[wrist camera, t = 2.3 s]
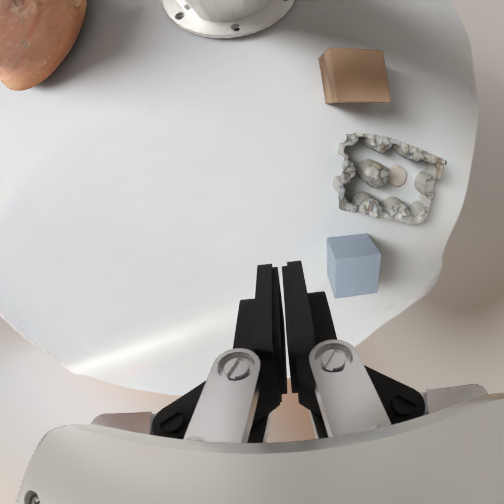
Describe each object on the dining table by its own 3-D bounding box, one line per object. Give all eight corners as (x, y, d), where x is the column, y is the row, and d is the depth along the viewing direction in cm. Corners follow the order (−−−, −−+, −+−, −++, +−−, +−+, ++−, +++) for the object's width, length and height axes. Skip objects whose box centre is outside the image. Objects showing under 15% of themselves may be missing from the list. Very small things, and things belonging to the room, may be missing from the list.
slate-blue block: (326, 237, 28) (335, 259, 24) (366, 233, 27) (381, 253, 23) (327, 273, 30) (335, 298, 26) (364, 269, 29) (377, 292, 25)
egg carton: (430, 152, 22) (452, 160, 19) (413, 216, 26) (431, 232, 22) (339, 124, 22) (353, 126, 19) (325, 198, 26) (335, 213, 22)
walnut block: (318, 58, 19) (328, 47, 15) (364, 59, 19) (382, 50, 15) (325, 103, 21) (337, 101, 17) (370, 103, 21) (390, 102, 17)
